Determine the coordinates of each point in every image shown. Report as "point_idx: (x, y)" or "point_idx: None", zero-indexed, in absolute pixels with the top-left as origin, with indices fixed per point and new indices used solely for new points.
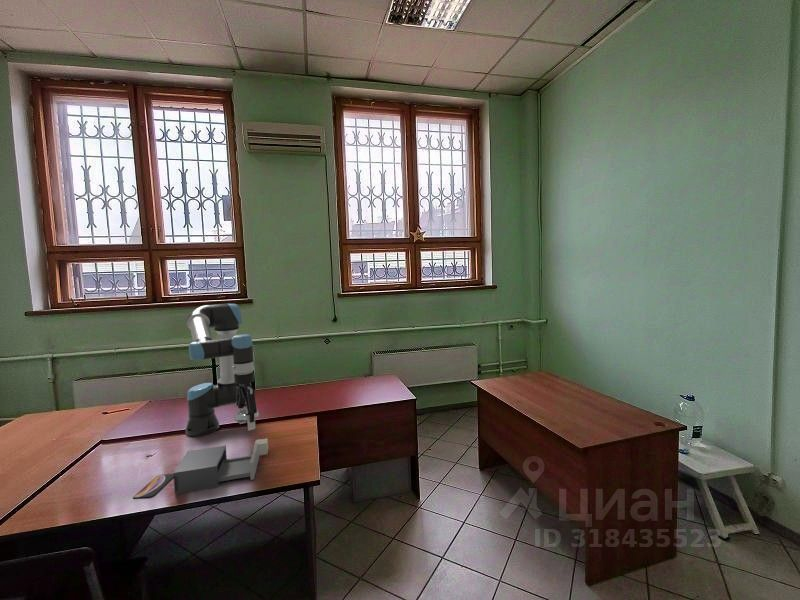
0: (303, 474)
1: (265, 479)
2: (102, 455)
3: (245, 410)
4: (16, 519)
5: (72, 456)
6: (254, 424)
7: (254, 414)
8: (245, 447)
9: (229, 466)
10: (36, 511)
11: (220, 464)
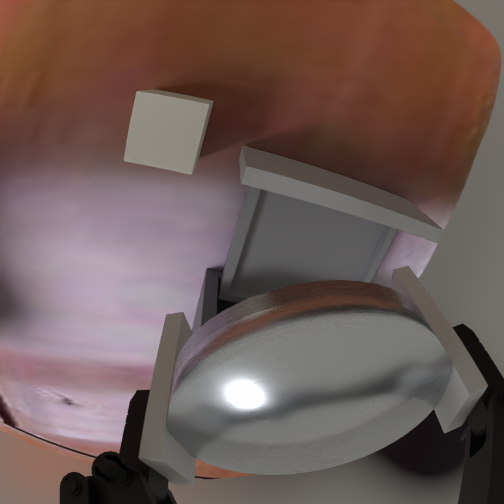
0: (473, 50)
1: (426, 163)
2: (55, 434)
3: (190, 434)
4: (225, 475)
5: (54, 448)
6: (426, 298)
7: (480, 372)
8: (82, 191)
9: (278, 274)
10: (216, 470)
11: (217, 294)
